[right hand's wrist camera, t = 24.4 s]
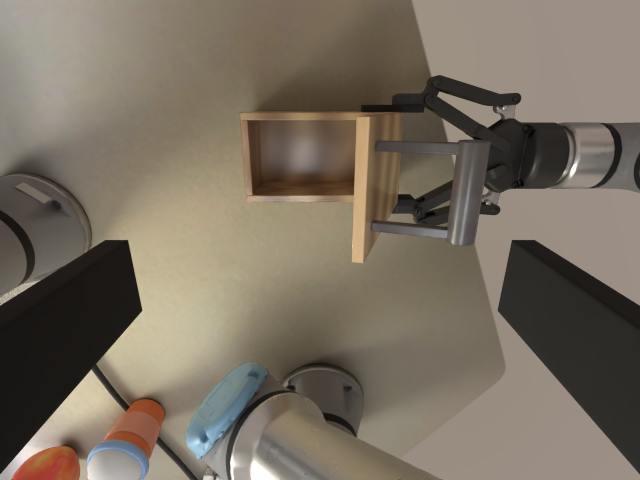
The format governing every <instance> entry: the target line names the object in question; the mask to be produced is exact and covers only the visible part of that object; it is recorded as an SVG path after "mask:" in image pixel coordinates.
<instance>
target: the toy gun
mask: <svg viewBox="0 0 640 480" xmlns="http://www.w3.org/2000/svg"><path fill="white" fill-rule="evenodd" d="M203 480H223V479H222V478H221V477H220V476H219V475H218V474H217V473H216V472H215V471H214V470H213V469H212V468H211V467H210V468H207V469H206V471H205V474H204V477H203Z"/></svg>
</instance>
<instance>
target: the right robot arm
mask: <svg viewBox="0 0 640 480" xmlns="http://www.w3.org/2000/svg"><path fill="white" fill-rule="evenodd" d="M90 244H91V229H90V225H89V221H88V219H87V216H86V214H85V212H84V210H83V209H82V207H81V206H80V204H79V203H78V202H77V200H76V199H75V198H74V197H73V196H72V195H71V194H70V193H69V192H68V191H66V190H65V189H64V188H63V187H61V186H60V185H58V184H56V183H55V182H53V181H51V180H49V179H46V178H44V177H41V176H38V175H33V174H24V173H19V174H11V175H7V176H2V177H0V297H1V296H3V295H5V294H6V293H8V292H10V291H11V290H13V289H14V288H16V287H18V286H19V285H21V284H24V283H29V282H34V281H39V280H41V281H39V282H38V283H36V284H34V285H33V286H31V287H30V288H28V289H26V290H25V291H23V292H22V293H20V294H18V295H17V296H15V297H14V298H12V299H10V300H9V301H7V302H5V303H4V304H2V305H1V306H0V474H1V473H2V472H3V470H4V469H5V468H6V467H7V466H8V465H9V463H10V462H11V461H12V460H13V459H14V458H15V457H16V455H17V454H18V453H19V452H20V451H21V450H22V449H23V447H24V446H25V445H26V444H27V443H28V442H29V440H30V439H31V438H32V437H33V436H34V435H35V434H36V432H37V431H38V430H39V429H40V428H41V427H42V426H43V424H44V423H45V422H46V421H47V420H48V419H49V417H50V416H51V415H52V414H53V413H54V412H55V411H56V409H57V408H58V407H59V406H60V405H61V404H62V402H63V401H64V400H65V399H66V398H67V397H68V396H69V394H70V393H71V392H72V391H73V390H74V389H75V388H76V386H77V385H78V384H79V383H80V382H81V381H82V379H83V378H84V377H85V376H86V375H87V374H88V373H89V371H90V370H91V369H92V371H93V372H94V373H95V375H96V376H97V377H98V379H99V380H100V381H101V382H102V384H103V385H104V386H105V388H106V389H107V390H108V392H109V393H110V394H111V395H112V397H113V398H114V399H115V400H116V401H117V402H118V404H119V405H120V406H121V407H122V408H123V409H124V410H125V411H127V410H128V409H129V406H128V405H127V403H126V402H125V401H124V400H123V399H122V398H121V397H120V395H119V394H118V393H117V392H116V390H115V389H114V388H113V387H112V385H111V384H110V383H109V381H108V380H107V379H106V377H105V376H104V375H103V374H102V372H101V371H100V370H99V368H98V367H97V365H96V363H97V362H98V361H99V360H100V359H101V358H102V356H103V355H104V354H105V353H106V352H107V351H108V350H109V348H110V347H111V346H112V345H113V344H114V343H115V341H116V340H117V339H118V338H119V337H120V336H121V335H122V333H123V332H124V331H125V330H126V329H127V328H128V327H129V325H130V324H131V323H132V322H133V321H134V320H135V318H136V317H137V316H138V315H139V314H140V313H141V312H142V307H141V302H140V297H139V292H138V287H137V282H136V277H135V272H134V268H133V263H132V258H131V253H130V248H129V243H128V240H105V241H103V242H102V243H100V244H98V245H97V246H95V247H94V248H92V249H90V250H89V248H90ZM498 312H499V313H500V314H501V315H502V316H503V317H504V318H505V320H506V321H507V322H508V323H509V324H510V325H511V326H512V328H513V329H514V330H515V331H516V332H517V333H518V335H519V336H520V337H521V338H522V339H523V340H524V341H525V343H526V344H527V345H528V346H529V347H530V348H531V350H532V351H533V352H534V353H535V354H536V355H537V356H538V358H539V359H540V360H541V361H542V362H543V363H544V365H545V366H546V367H547V368H548V369H549V370H550V371H551V373H552V374H553V375H554V376H555V377H556V378H557V379H558V381H559V382H560V383H561V384H562V385H563V386H564V388H565V389H566V390H567V391H568V392H569V393H570V394H571V396H572V397H573V398H574V399H575V400H576V401H577V402H578V404H579V405H580V406H581V407H582V408H583V409H584V411H585V412H586V413H587V414H588V415H589V416H590V417H591V419H592V420H593V421H594V422H595V423H596V424H597V425H598V427H599V428H600V429H601V430H602V431H603V432H604V434H605V435H606V436H607V437H608V438H609V439H610V440H611V442H612V443H613V444H614V445H615V446H616V447H617V449H618V450H619V451H620V452H621V453H622V454H623V455H624V457H625V458H626V459H627V460H628V461H629V462H630V463H631V465H632V466H633V467H634V468H635V469H636V470H637V472H638V473H639V474H640V306H639V305H638V304H636V303H634V302H633V301H631V300H630V299H628V298H626V297H625V296H623V295H622V294H620V293H618V292H617V291H615V290H614V289H612V288H610V287H609V286H607V285H606V284H604V283H602V282H601V281H599V280H598V279H596V278H594V277H593V276H591V275H590V274H588V273H586V272H585V271H583V270H582V269H580V268H578V267H577V266H575V265H574V264H572V263H570V262H569V261H567V260H566V259H564V258H562V257H561V256H559V255H558V254H556V253H554V252H553V251H551V250H550V249H548V248H546V247H545V246H543V245H542V244H540V243H538V242H537V241H535V240H512V243H511V248H510V253H509V258H508V263H507V268H506V272H505V277H504V282H503V287H502V292H501V297H500V302H499V307H498ZM156 443H157V444H158V445H159V446H160V447H161V448H162V449H163V450H164V451H165V452H166V453H167V454H168V455H169V456H170V457H171V458H172V460H173V461H174V462H175V463H176V464H177V465H178V466H179V467H180V468H181V469H182V470H183V471H184V473H185V474H186V475H187V476H188V477H189V479H190V480H197V478H196V477H195V476H194V475H193V474H192V472H191V471H190V470H189V469H188V468H187V466H186V465H185V464H184V463H183V462H182V461H181V460H180V459H179V458H178V457H177V456H176V454H175V453H174V452H173V451H172V450H171V449H170V448H169V447H168V446H167V445H166V444H165V443H164V442H163V441H162V440H161V439H160V438H159V437H158V438H157V441H156Z"/></svg>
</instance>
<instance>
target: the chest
mask: <svg viewBox="0 0 640 480" xmlns="http://www.w3.org/2000/svg"><path fill="white" fill-rule="evenodd" d="M385 113H395V112H361V111H253V112H240V120H241V121H240V123H241V137H242V150H243V163H244V176H245V189H246V201H247V202H354V183H355V153H356V123H357V116H366V115H376V114H385Z"/></svg>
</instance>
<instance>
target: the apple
mask: <svg viewBox="0 0 640 480" xmlns="http://www.w3.org/2000/svg"><path fill="white" fill-rule="evenodd" d="M79 477H80V465H79V460H78V457H77V455H76V453H75V451H74V450H73V449H72V448H70V447H66V446H59V447H52V448H48V449H45V450H43V451H41V452H38V453H37V454H35V455H33V456H32V457H30V458H29V459H28V460H26V461H25V462H24V463H23V464H22V465H21V466H20V467H19V469H18V470H17V471H16V473H15V474H14V476H13V477H12V479H11V480H79Z"/></svg>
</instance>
